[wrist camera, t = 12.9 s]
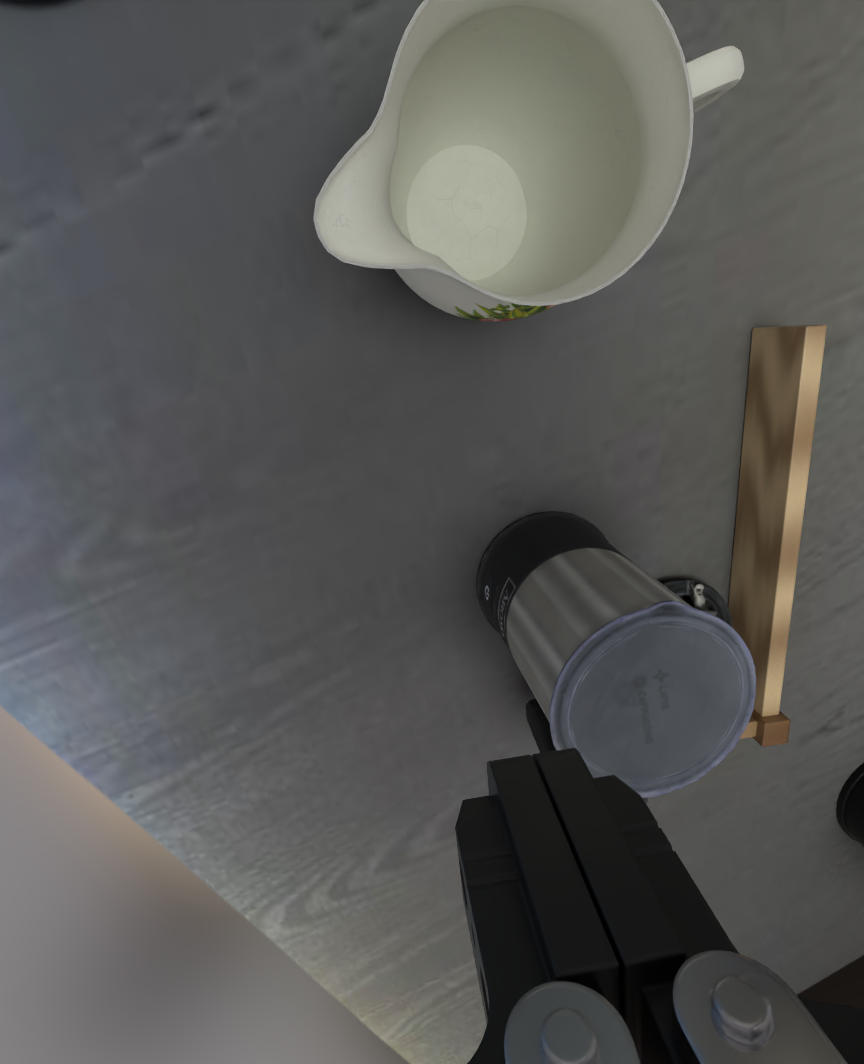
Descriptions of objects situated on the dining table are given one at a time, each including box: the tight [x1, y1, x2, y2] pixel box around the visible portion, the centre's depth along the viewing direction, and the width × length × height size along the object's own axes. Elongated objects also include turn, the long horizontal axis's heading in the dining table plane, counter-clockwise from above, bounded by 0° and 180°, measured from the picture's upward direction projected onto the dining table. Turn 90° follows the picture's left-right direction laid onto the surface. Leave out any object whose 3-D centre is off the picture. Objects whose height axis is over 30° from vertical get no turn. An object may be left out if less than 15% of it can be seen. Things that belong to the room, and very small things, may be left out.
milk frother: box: [477, 512, 756, 803], centre depth 33 cm, size 14×16×15 cm
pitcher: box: [313, 0, 744, 322], centre depth 25 cm, size 11×18×14 cm, turn 113°
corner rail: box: [728, 325, 827, 747], centre depth 37 cm, size 26×15×5 cm, turn 4°
